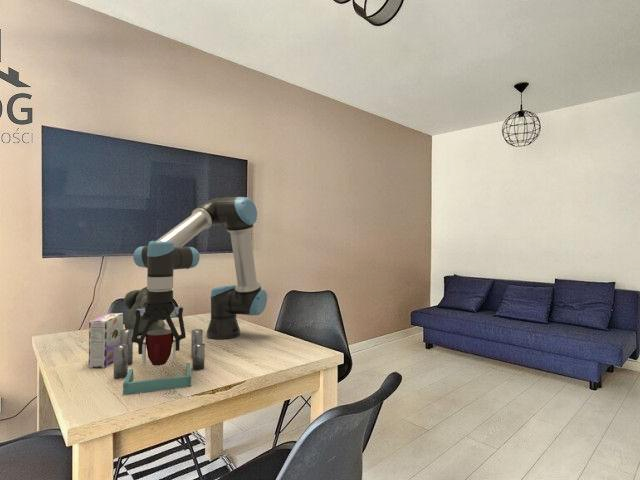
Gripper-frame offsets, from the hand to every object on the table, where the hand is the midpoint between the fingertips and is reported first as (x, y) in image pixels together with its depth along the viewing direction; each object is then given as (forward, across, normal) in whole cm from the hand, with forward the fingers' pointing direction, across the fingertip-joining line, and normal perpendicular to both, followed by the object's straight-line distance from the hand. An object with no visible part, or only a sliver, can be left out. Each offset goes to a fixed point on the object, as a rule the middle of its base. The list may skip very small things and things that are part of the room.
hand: (159, 362), depth 113 cm
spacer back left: (+6, -12, -23) cm, 26 cm away
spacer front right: (+6, +12, -10) cm, 16 cm away
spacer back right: (+6, +12, -23) cm, 26 cm away
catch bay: (+6, 0, 0) cm, 6 cm away
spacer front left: (+6, -12, -10) cm, 17 cm away
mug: (+1, 0, 0) cm, 1 cm away
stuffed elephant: (+6, +10, -72) cm, 73 cm away
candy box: (+6, +19, -28) cm, 34 cm away
